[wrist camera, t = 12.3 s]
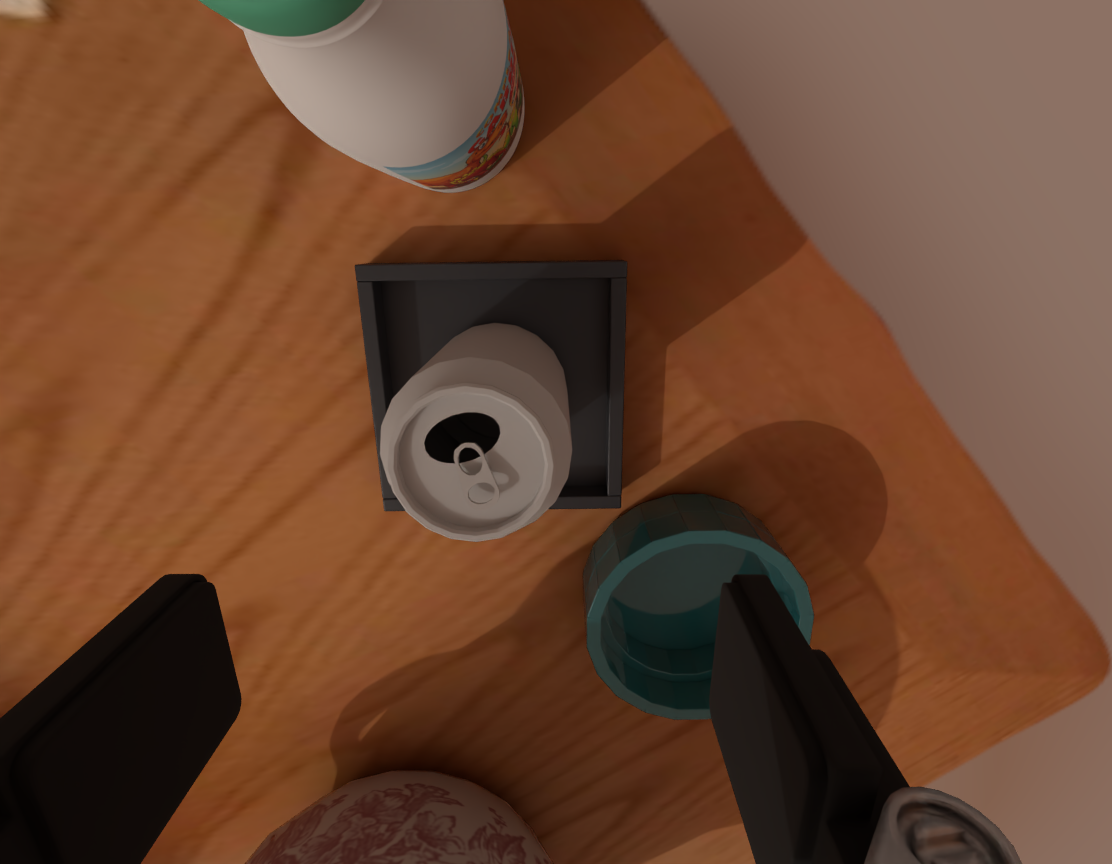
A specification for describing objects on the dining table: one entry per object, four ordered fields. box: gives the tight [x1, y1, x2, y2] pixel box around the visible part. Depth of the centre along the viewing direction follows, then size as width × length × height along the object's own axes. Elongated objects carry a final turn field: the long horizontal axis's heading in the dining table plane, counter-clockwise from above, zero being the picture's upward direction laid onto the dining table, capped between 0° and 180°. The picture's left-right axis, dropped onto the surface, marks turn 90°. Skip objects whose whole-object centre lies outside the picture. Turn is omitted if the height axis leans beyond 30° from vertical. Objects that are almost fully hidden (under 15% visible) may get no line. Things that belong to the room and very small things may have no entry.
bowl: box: [583, 494, 814, 720], centre depth 34 cm, size 13×13×5 cm
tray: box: [355, 260, 627, 511], centre depth 32 cm, size 14×14×2 cm
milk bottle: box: [199, 0, 524, 193], centre depth 19 cm, size 8×8×20 cm
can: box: [380, 323, 572, 542], centre depth 26 cm, size 8×8×12 cm
